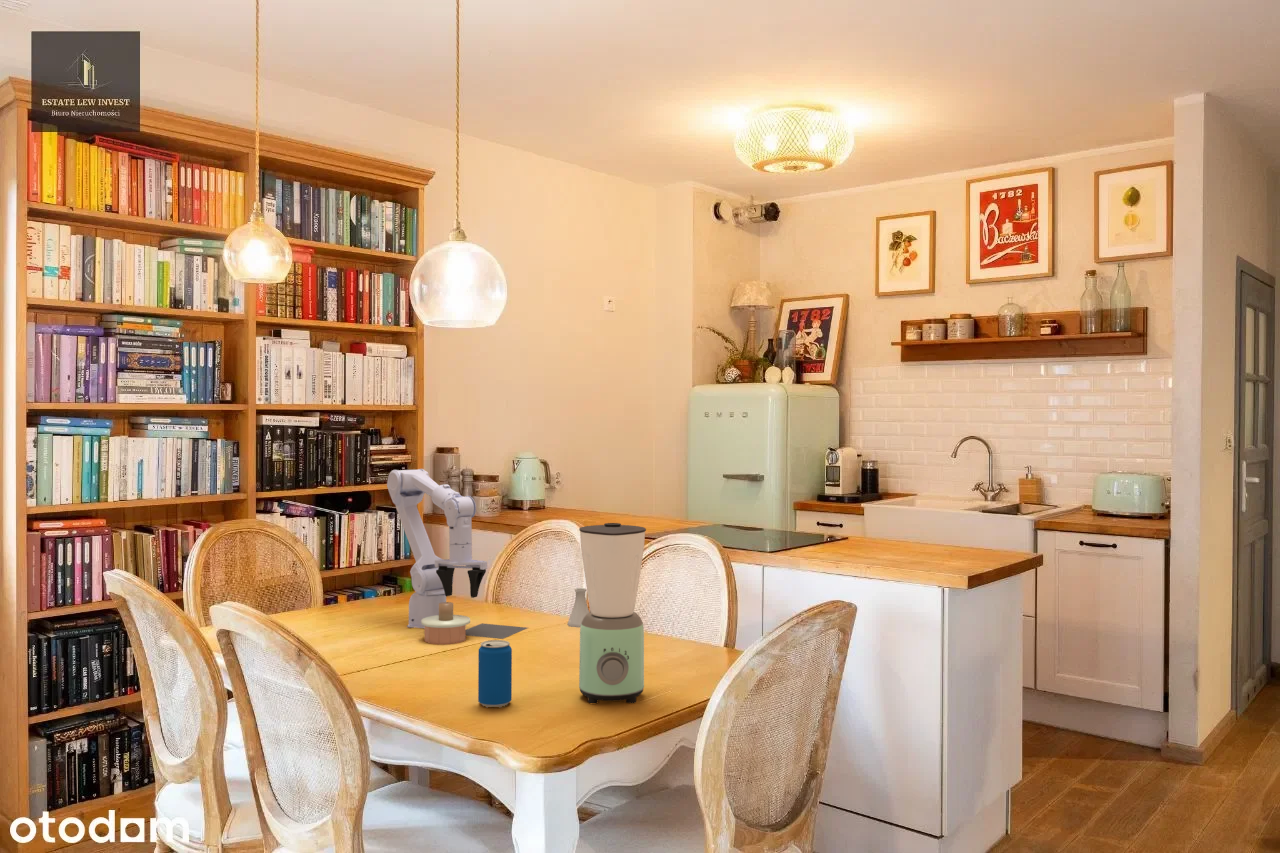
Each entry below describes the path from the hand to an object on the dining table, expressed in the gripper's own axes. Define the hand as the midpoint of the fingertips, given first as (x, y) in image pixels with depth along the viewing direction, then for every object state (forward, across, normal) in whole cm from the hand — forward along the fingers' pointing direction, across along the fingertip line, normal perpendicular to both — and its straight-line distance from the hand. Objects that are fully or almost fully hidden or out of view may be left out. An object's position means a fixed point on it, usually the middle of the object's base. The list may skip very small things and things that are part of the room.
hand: (461, 596), depth 256 cm
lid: (+5, 0, -7) cm, 9 cm away
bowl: (+10, 0, -8) cm, 12 cm away
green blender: (+12, +58, -35) cm, 69 cm away
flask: (+10, +23, +22) cm, 34 cm away
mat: (+10, +6, +6) cm, 13 cm away
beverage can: (+12, +39, -50) cm, 64 cm away
